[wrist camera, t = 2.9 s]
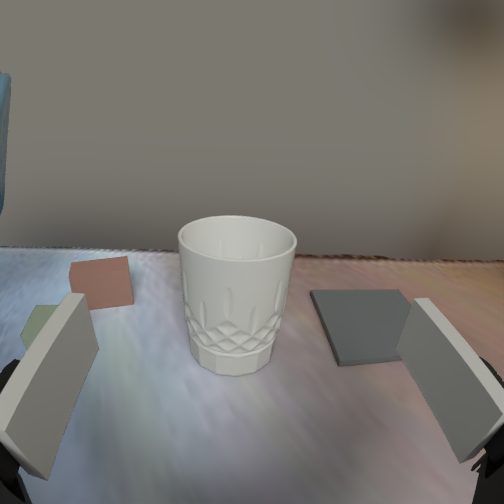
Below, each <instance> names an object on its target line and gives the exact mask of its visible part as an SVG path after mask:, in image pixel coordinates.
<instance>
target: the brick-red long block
mask: <svg viewBox="0 0 504 504" xmlns="http://www.w3.org/2000/svg"><path fill="white" fill-rule="evenodd" d="M69 281H70V286H71V290H72V293H82V294H85V295H86V300H87V304H88V309H89V310H94V309H102V308H110V307H118V306H126V305H133V304H134V302H133V295H132V288H131V280H130V272H129V265H128V258H127V256H124V257H115V258H107V259H98V260H90V261H82V262H73V263H71V268H70V272H69Z"/></svg>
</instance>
